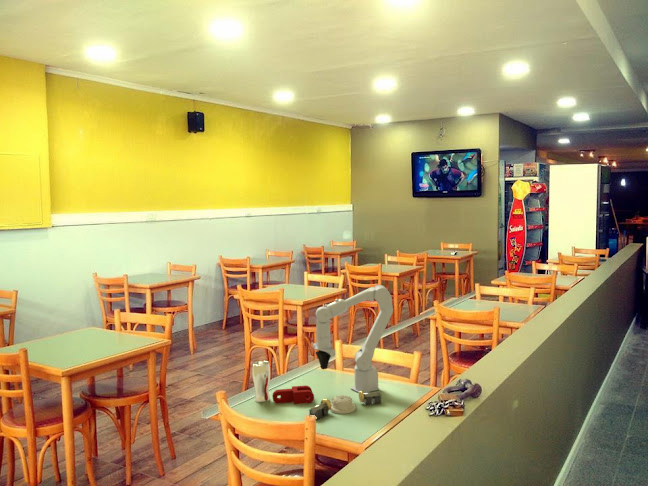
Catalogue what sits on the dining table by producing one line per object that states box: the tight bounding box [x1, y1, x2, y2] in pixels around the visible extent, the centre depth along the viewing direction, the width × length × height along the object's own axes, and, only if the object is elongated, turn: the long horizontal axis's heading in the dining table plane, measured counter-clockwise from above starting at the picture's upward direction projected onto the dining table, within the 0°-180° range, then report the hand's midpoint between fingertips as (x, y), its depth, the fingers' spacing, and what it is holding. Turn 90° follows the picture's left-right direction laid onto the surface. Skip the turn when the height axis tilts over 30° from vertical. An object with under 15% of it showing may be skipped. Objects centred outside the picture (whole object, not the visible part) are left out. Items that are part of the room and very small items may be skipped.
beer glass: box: [252, 360, 271, 403], centre depth 233 cm, size 7×7×15 cm
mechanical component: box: [329, 394, 357, 415], centre depth 222 cm, size 10×4×10 cm
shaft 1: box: [308, 398, 332, 421], centre depth 215 cm, size 8×4×5 cm, turn 141°
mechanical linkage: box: [272, 385, 315, 405], centre depth 231 cm, size 16×7×5 cm, turn 99°
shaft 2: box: [358, 391, 382, 406], centre depth 227 cm, size 8×4×5 cm, turn 101°
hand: (324, 368), depth 241 cm, fingers closed
